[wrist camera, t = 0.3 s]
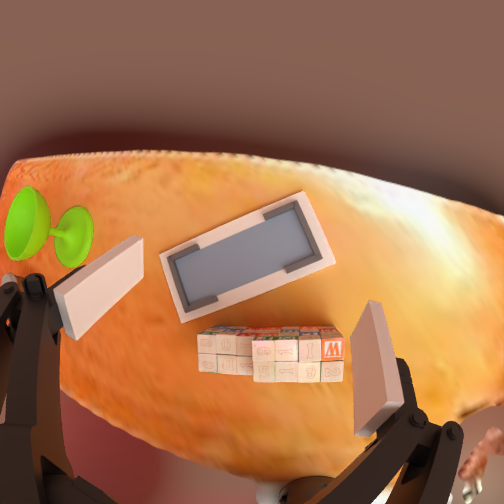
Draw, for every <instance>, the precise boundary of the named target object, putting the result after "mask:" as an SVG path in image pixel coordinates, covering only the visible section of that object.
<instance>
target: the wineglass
mask: <svg viewBox="0 0 504 504" xmlns="http://www.w3.org/2000/svg"><path fill="white" fill-rule="evenodd" d="M50 225H51V215H50V210H49V207H48V205H47V202H46V200H45V198H44V197H43V196H42V195H41V194H40V192H39V191H38V190H36V189H34V188H33V187H31V186H26V187H24V188H22V189H21V190H20V191H19V192H18V194H17V195H16V196H15V198H14V200H13V202H12V204H11V206H10V209H9V211H8V215H7V219H6V224H5V235H4V240H5V248H6V251H7V254H8V256H9V258H11V259H12V260H26V259H28V258H30V257H32V256H34V255H35V254H36V253H37V252H39V251H40V249H41V248H42V247H43V246H44V244H45V242H46V240H47V237H48V235H52V236H55V239H54V245H55V252H56V255H57V257H58V260H59V261H60V262H61V263H62V265H64V266H66V267H67V268H74V267H77V266H78V265H80V264H81V263H82V262H83V261H84V259H85V258H86V257H87V255H88V252H89V250H90V248H91V244H92V240H93V232H94V230H93V221H92V217H91V215H90V213H89V211H88V210H87V209H86V208H84V207H81V206H76V207H72V208H71V209H69V210H68V211H67V212H66V213H65V214H64V215H63V216H62V218H61V219H60V221H59V223H58V225H57V228H53V227H50Z"/></svg>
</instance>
